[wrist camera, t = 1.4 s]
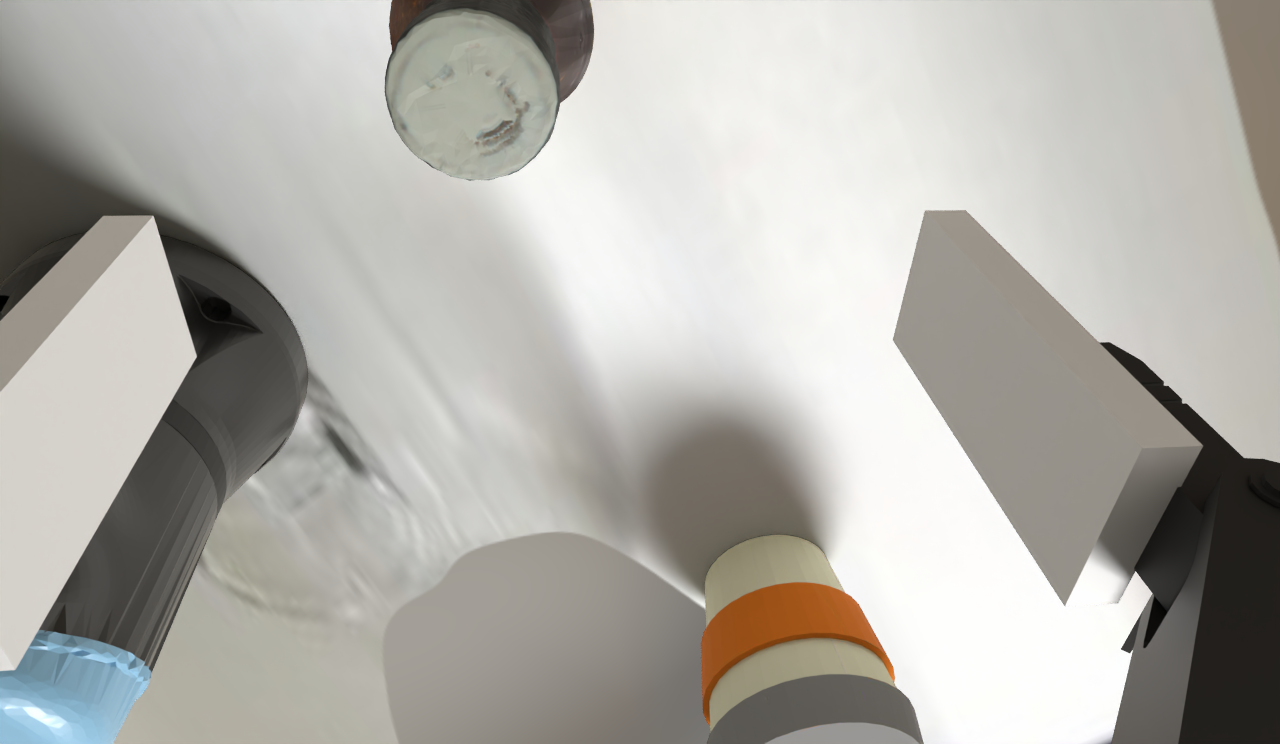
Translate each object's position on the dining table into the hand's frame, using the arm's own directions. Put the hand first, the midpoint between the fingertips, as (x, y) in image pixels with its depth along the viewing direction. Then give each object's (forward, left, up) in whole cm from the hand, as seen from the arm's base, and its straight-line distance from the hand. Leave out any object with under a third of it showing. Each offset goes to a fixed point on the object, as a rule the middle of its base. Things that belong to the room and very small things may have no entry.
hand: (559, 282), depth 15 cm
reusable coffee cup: (+15, -38, -27) cm, 49 cm away
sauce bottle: (-2, +1, -27) cm, 27 cm away
